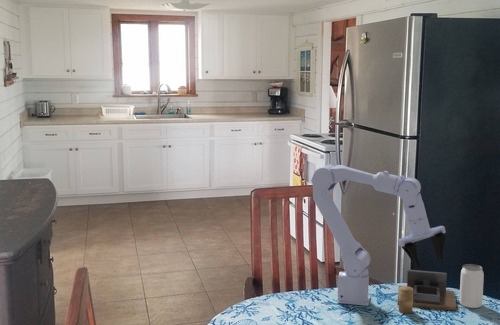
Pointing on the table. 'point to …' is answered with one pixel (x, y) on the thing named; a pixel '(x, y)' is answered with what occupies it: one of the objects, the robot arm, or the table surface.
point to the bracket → (430, 290)
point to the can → (471, 286)
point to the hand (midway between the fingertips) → (428, 263)
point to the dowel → (405, 299)
